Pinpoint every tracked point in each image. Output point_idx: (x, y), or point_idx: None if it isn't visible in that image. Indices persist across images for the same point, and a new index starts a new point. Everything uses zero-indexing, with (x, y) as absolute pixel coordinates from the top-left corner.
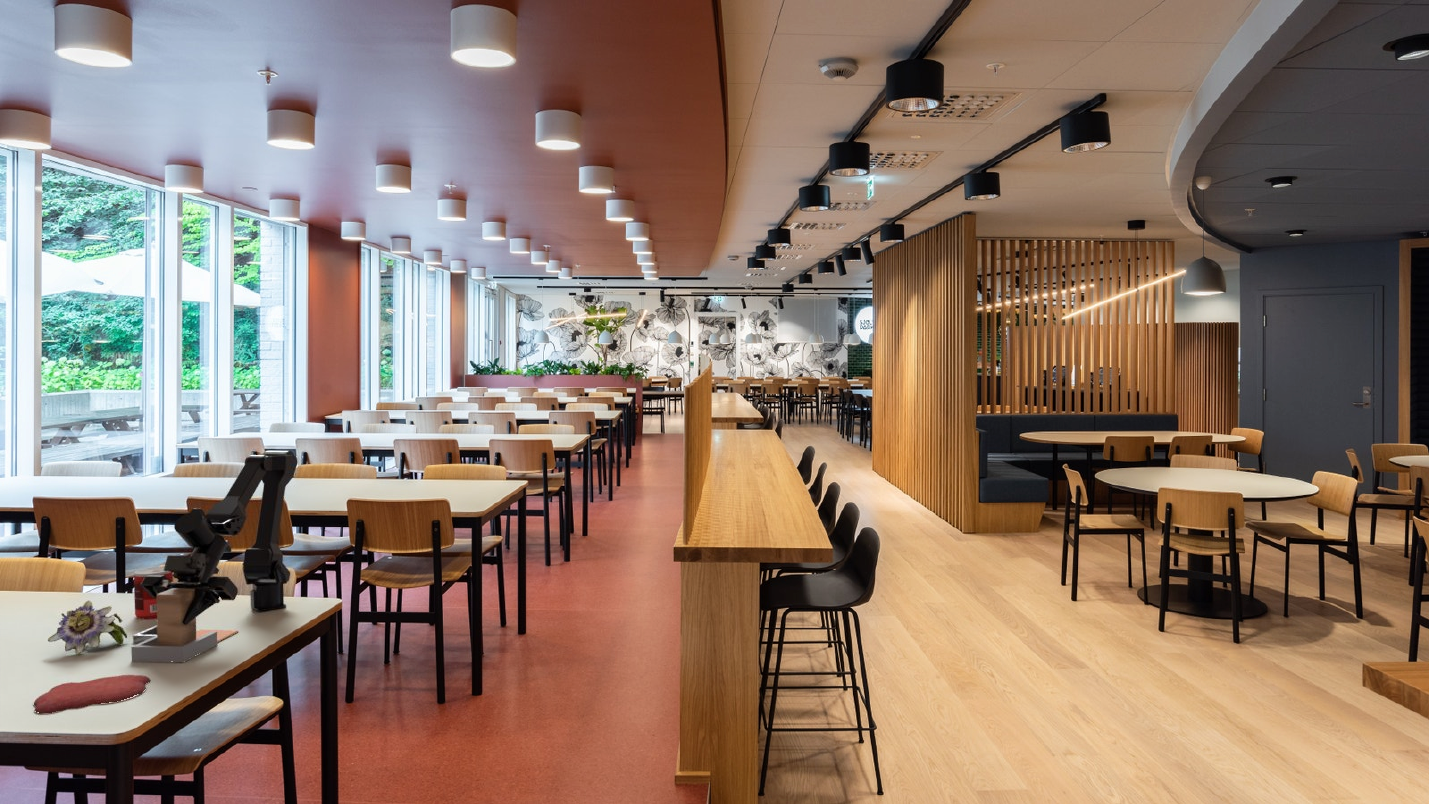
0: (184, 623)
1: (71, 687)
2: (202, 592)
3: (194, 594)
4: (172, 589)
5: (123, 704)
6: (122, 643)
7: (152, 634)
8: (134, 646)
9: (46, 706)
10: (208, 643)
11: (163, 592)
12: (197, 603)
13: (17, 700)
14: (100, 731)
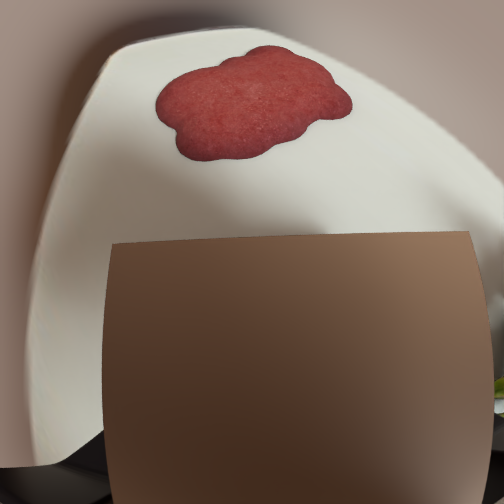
0: None
1: (292, 75)
2: (13, 469)
3: (106, 493)
4: (453, 500)
5: (163, 78)
6: None
7: None
8: None
9: (268, 45)
10: None
11: (470, 333)
12: (101, 436)
13: (361, 77)
14: (146, 42)
